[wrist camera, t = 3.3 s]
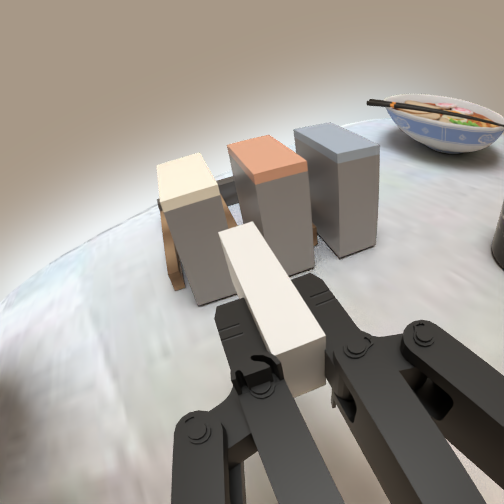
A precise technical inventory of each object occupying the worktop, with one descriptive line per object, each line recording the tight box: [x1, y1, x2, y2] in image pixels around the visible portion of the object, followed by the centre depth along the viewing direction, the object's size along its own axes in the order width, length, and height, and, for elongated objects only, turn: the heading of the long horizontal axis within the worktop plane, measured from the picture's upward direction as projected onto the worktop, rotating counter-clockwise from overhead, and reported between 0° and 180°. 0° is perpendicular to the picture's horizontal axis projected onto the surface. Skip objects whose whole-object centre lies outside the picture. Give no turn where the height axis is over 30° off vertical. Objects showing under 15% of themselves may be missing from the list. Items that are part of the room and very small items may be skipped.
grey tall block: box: [157, 153, 237, 306], centre depth 27 cm, size 8×4×10 cm, turn 17°
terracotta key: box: [227, 135, 315, 276], centre depth 28 cm, size 8×4×10 cm, turn 17°
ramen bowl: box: [367, 94, 504, 154], centre depth 44 cm, size 25×23×8 cm
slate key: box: [294, 123, 380, 258], centre depth 29 cm, size 8×4×10 cm, turn 17°
